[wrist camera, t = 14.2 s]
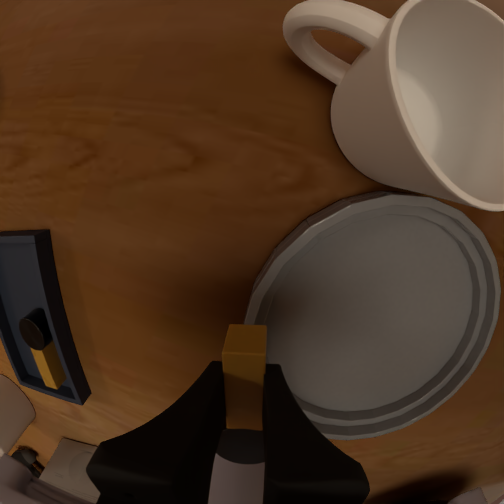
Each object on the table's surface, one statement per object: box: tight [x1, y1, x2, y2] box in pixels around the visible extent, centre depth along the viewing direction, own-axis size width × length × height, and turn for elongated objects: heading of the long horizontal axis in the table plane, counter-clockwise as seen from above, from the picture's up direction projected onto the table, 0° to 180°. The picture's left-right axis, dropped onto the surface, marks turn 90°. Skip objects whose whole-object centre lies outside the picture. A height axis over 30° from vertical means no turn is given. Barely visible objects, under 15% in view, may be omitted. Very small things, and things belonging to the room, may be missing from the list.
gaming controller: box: [11, 449, 41, 478], centre depth 31 cm, size 12×8×5 cm, turn 20°
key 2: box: [216, 324, 267, 465], centre depth 13 cm, size 7×3×2 cm, turn 0°
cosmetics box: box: [39, 438, 100, 504], centre depth 23 cm, size 10×6×10 cm, turn 97°
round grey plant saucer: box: [243, 191, 501, 440], centre depth 19 cm, size 19×19×3 cm
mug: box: [283, 0, 504, 211], centre depth 11 cm, size 12×8×10 cm
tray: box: [0, 230, 91, 405], centre depth 21 cm, size 16×9×2 cm, turn 0°
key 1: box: [19, 308, 67, 389], centre depth 21 cm, size 7×3×2 cm, turn 0°
